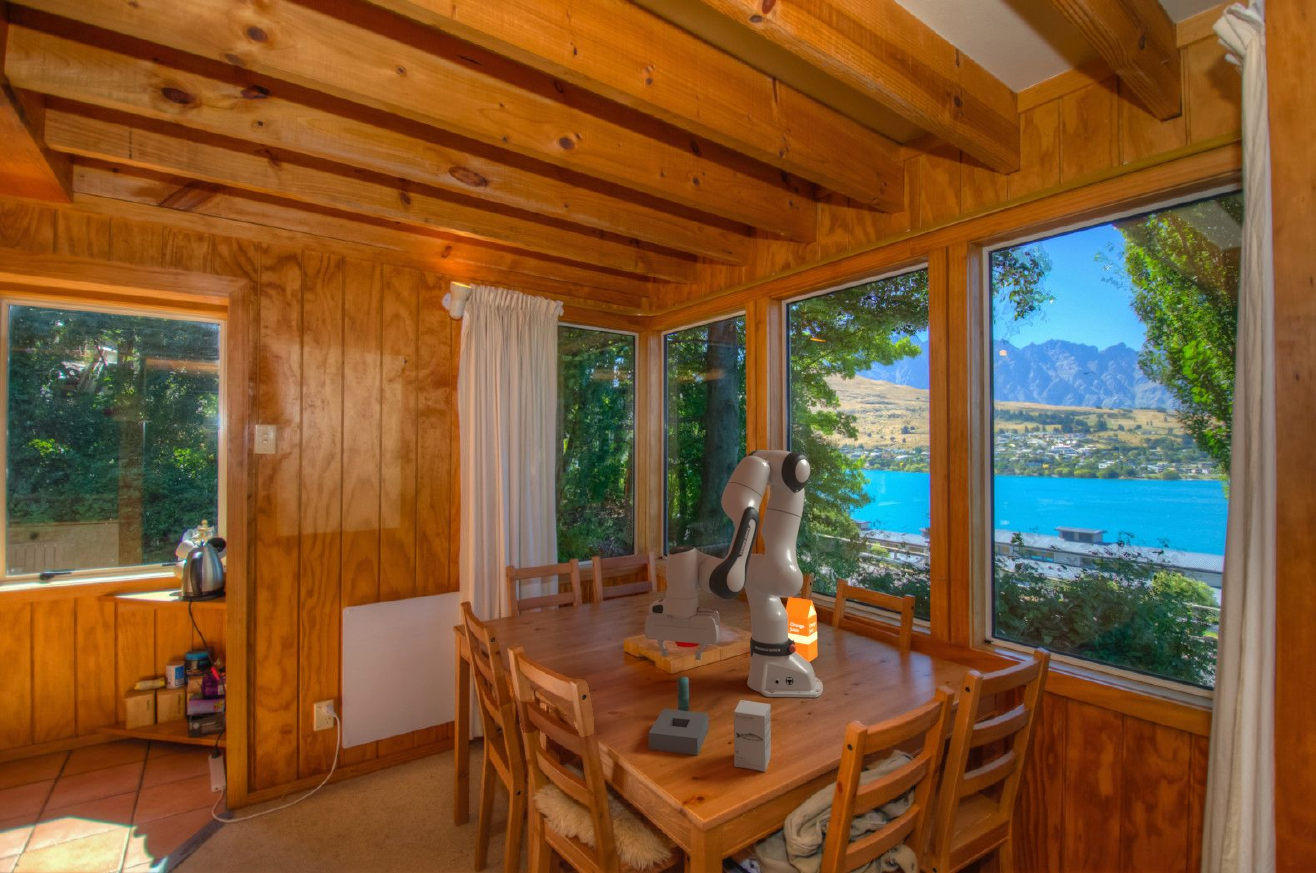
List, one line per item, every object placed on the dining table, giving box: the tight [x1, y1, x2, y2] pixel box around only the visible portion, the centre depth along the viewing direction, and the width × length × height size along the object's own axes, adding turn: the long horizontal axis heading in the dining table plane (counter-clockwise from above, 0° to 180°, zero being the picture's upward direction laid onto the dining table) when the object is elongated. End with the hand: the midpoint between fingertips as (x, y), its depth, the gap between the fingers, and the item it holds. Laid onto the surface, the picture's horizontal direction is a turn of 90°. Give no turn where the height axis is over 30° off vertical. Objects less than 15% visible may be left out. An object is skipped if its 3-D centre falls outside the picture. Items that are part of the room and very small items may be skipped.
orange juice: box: [785, 597, 818, 663], centre depth 210 cm, size 8×9×20 cm
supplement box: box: [733, 699, 772, 773], centre depth 140 cm, size 7×7×13 cm
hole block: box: [648, 708, 710, 756], centre depth 152 cm, size 12×14×4 cm
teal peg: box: [677, 676, 690, 711], centre depth 165 cm, size 3×3×10 cm
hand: (681, 657), depth 165 cm, fingers open, 8 cm apart
